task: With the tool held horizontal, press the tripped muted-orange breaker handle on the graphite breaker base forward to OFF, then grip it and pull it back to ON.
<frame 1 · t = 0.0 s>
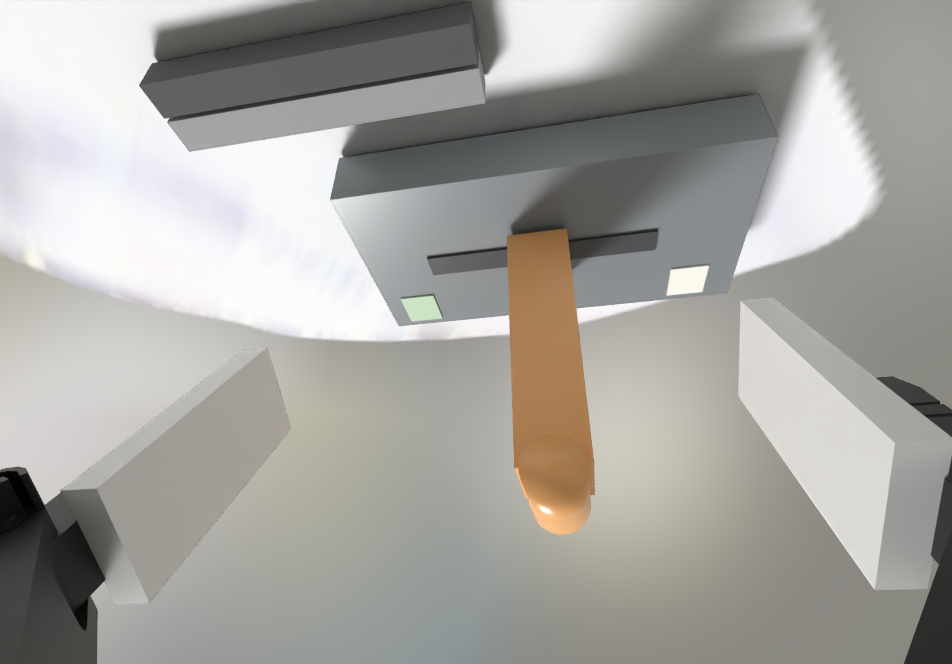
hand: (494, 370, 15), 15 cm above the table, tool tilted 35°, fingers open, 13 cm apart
breaker handle: (548, 369, 25), point 10 cm above the table, slide at 4.5 cm
grooved grey bar: (320, 72, 24), on the table
breaker base: (545, 210, 31), on the table
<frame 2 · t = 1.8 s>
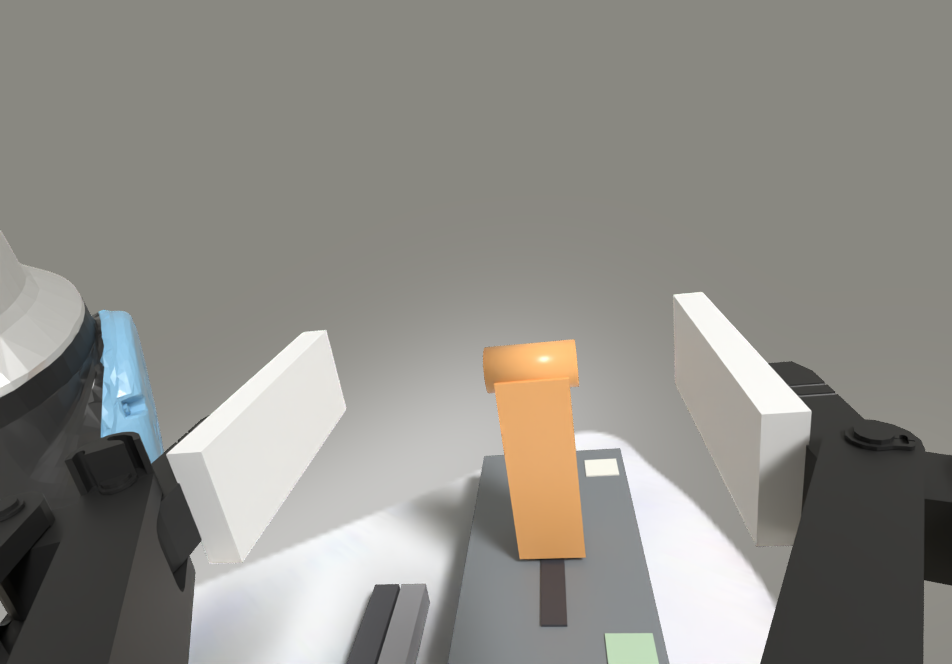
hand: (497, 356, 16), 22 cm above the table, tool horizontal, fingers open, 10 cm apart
breaker handle: (541, 450, 32), point 10 cm above the table, slide at 4.5 cm
breaker base: (556, 576, 36), on the table
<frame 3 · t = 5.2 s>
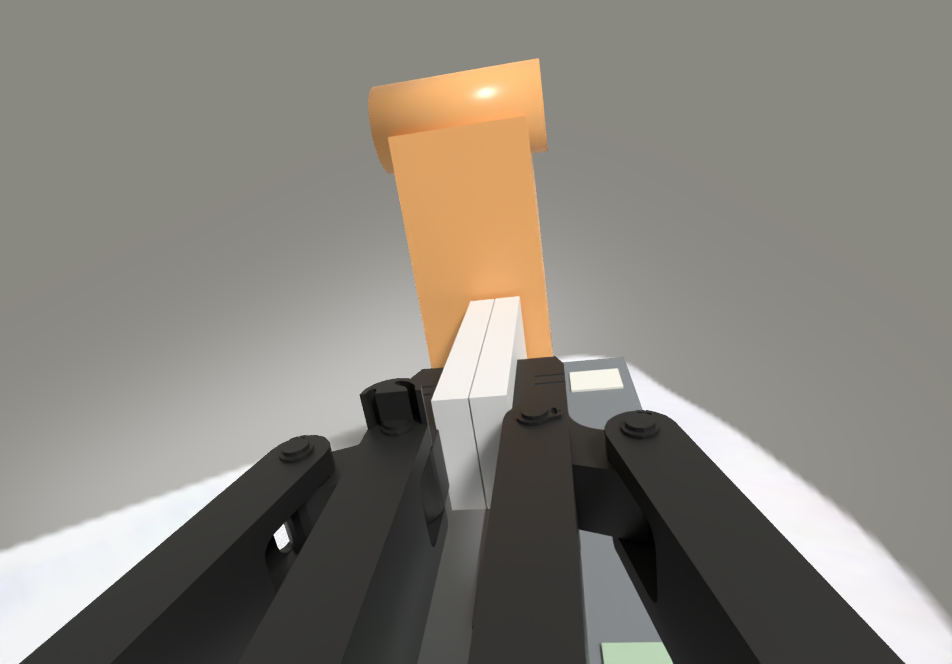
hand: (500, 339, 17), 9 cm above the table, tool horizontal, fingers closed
breaker handle: (486, 288, 19), point 10 cm above the table, slide at 5.8 cm, touching gripper
breaker base: (520, 542, 21), on the table
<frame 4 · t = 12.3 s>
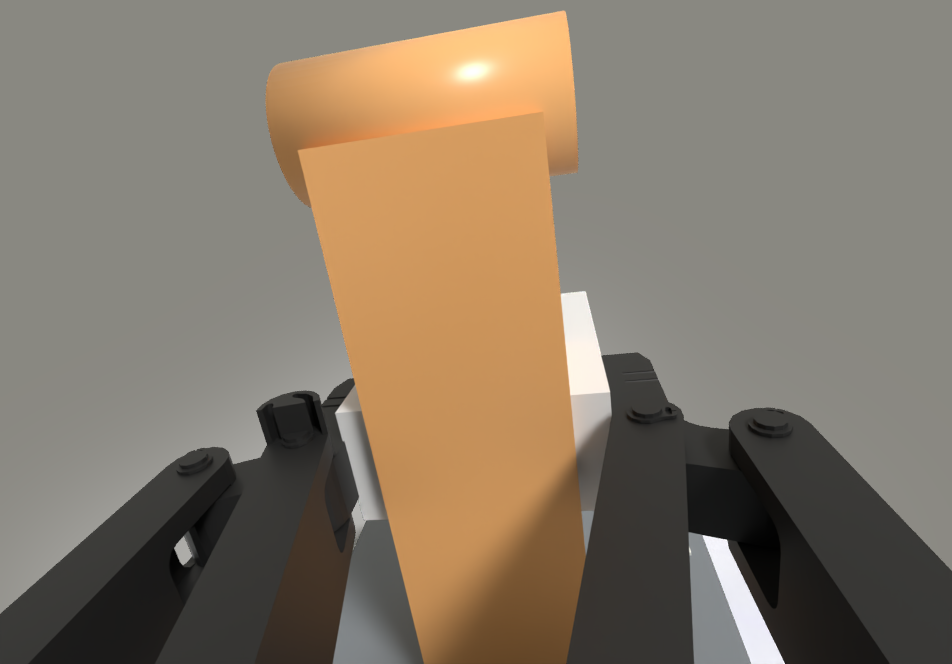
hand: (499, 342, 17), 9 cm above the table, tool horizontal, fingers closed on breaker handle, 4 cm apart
breaker handle: (475, 386, 12), point 10 cm above the table, slide at 9.0 cm, touching gripper
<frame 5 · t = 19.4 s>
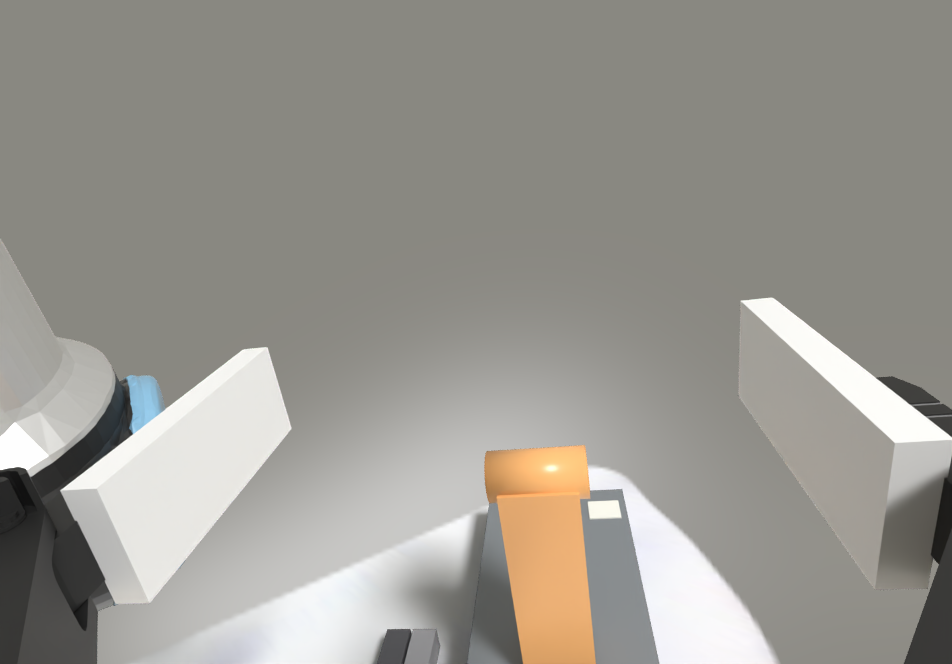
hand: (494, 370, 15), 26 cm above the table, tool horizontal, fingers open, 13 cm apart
breaker handle: (548, 558, 30), point 10 cm above the table, slide at 0.0 cm
breaker base: (562, 619, 38), on the table
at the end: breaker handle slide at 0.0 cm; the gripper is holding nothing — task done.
